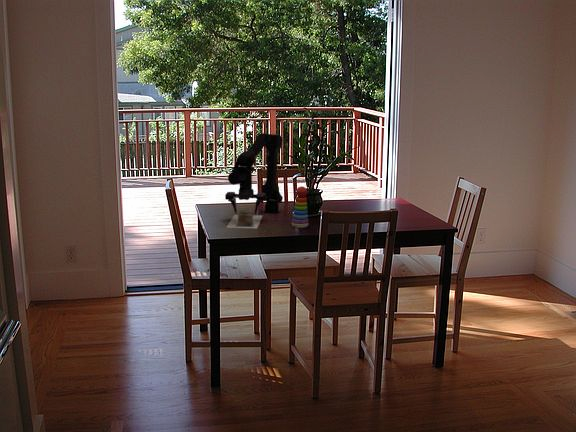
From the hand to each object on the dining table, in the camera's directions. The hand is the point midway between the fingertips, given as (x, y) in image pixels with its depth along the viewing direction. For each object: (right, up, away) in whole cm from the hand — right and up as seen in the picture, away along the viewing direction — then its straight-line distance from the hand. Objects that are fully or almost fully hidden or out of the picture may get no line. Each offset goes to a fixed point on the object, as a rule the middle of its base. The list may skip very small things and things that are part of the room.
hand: (245, 214), depth 325 cm
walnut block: (0, -5, -8) cm, 10 cm away
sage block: (0, -3, +1) cm, 3 cm away
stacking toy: (+26, -6, -6) cm, 27 cm away
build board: (0, -4, -1) cm, 4 cm away
